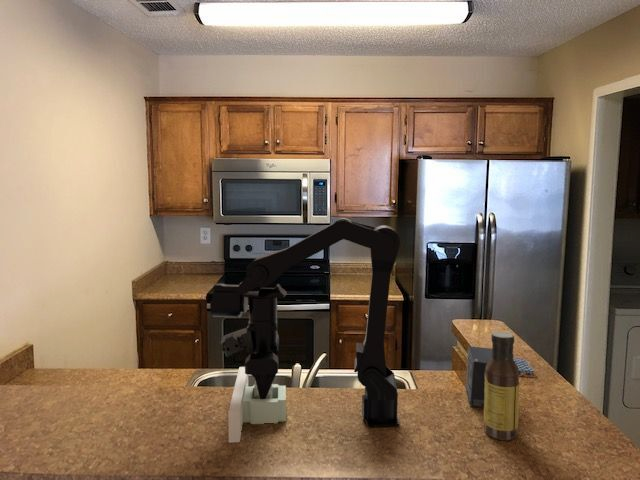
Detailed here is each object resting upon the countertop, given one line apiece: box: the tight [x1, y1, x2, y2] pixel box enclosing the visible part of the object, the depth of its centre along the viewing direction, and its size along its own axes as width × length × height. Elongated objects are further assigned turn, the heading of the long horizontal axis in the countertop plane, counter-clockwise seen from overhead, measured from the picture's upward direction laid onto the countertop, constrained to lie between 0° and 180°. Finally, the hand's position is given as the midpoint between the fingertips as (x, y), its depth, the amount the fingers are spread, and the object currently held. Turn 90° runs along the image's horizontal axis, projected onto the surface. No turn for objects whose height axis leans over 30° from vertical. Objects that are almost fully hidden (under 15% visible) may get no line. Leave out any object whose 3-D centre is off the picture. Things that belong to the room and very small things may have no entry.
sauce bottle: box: [483, 330, 520, 441], centre depth 90 cm, size 6×6×20 cm
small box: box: [465, 345, 492, 409], centre depth 106 cm, size 11×6×10 cm, turn 168°
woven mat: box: [513, 356, 537, 378], centre depth 124 cm, size 10×11×2 cm
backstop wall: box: [227, 366, 249, 444], centre depth 98 cm, size 2×22×6 cm, turn 5°
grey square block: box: [253, 380, 274, 399], centre depth 98 cm, size 4×4×7 cm
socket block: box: [243, 383, 287, 425], centre depth 98 cm, size 9×9×4 cm
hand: (263, 390), depth 98 cm, fingers open, 7 cm apart
